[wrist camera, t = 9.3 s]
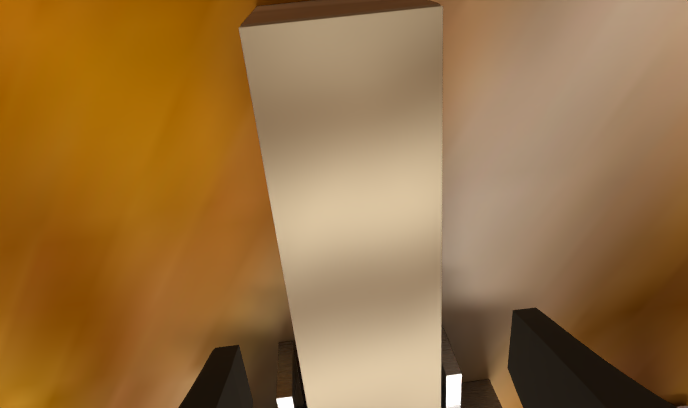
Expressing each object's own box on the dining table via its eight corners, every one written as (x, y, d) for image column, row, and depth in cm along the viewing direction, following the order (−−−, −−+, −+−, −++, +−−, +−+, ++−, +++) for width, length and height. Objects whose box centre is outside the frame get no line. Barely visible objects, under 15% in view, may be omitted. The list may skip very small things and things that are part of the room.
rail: (411, 365, 22) (440, 466, 18) (316, 378, 22) (321, 483, 18) (399, -10, 15) (443, 3, 10) (255, 6, 15) (238, 25, 10)
